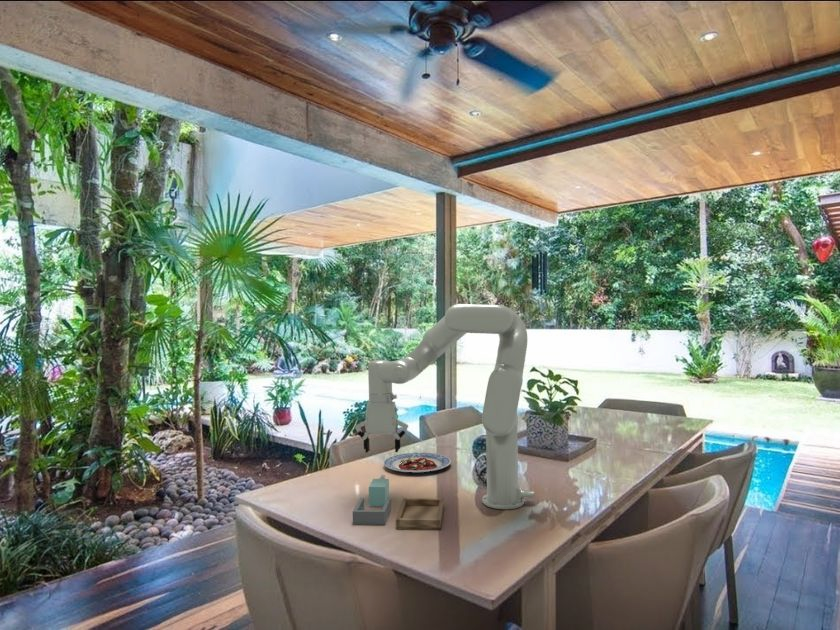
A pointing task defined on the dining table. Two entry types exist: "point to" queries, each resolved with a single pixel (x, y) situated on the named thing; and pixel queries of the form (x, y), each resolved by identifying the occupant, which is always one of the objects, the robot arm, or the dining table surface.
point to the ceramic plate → (417, 462)
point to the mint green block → (378, 491)
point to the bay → (371, 514)
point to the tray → (420, 514)
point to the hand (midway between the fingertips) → (382, 451)
